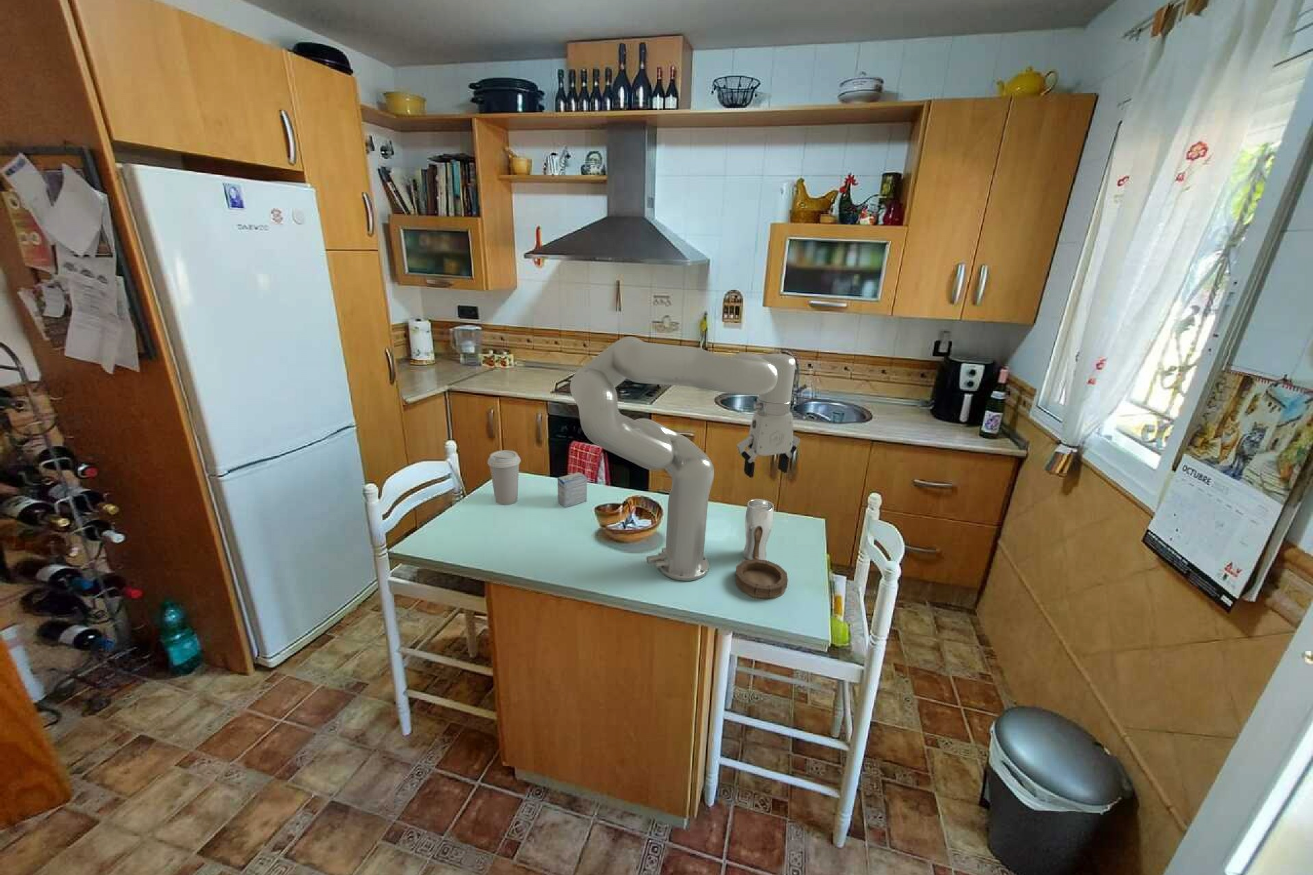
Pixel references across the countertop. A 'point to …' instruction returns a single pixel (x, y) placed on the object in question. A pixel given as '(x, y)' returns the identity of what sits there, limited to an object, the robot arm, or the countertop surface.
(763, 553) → the beer glass
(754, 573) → the round tray
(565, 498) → the medicine box
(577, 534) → the countertop surface
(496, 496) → the coffee cup
